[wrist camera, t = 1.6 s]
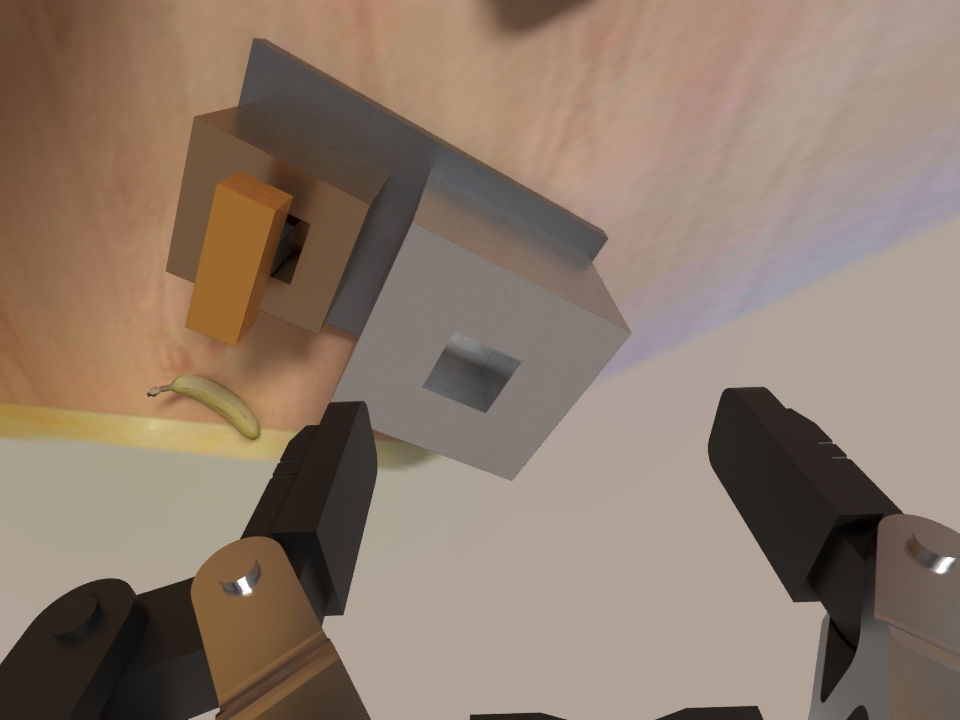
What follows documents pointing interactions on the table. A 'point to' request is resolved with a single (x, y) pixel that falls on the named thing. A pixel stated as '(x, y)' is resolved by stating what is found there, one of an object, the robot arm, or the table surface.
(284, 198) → the key
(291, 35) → the table surface
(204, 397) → the banana
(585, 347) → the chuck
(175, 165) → the table surface
